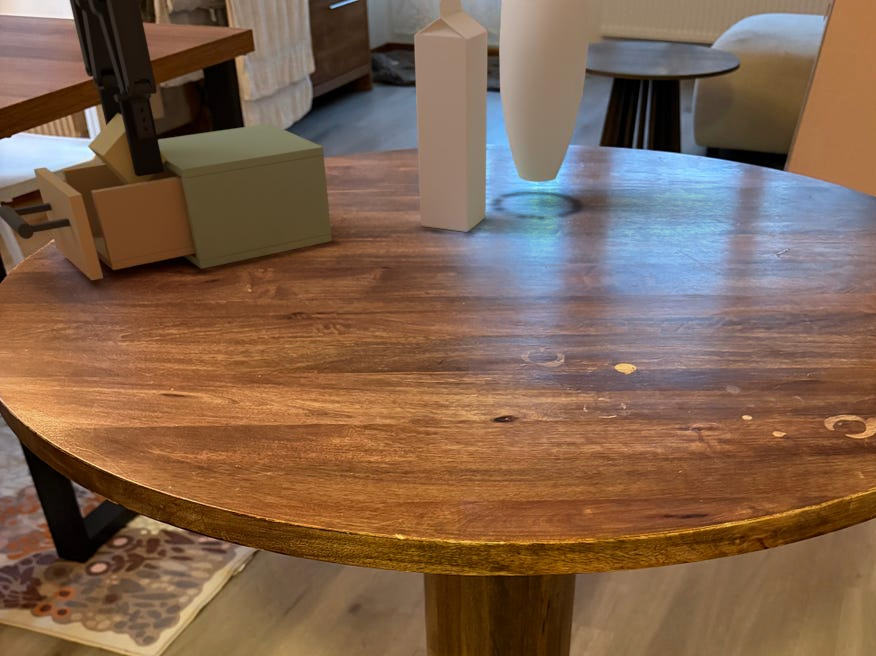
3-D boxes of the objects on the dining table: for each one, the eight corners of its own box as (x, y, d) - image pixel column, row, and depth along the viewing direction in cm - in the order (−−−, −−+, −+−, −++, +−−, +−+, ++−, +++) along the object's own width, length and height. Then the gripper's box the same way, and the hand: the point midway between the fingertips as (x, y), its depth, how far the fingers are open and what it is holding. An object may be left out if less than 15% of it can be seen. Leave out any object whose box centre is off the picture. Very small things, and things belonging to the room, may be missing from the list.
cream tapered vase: (533, 185, 120) (542, -16, 106) (595, 202, 114) (613, -8, 100) (477, 201, 114) (479, -9, 100) (539, 220, 109) (550, 1, 94)
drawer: (41, 291, 88) (14, 205, 83) (8, 257, 95) (-18, 176, 90) (227, 252, 97) (214, 172, 92) (185, 224, 104) (171, 148, 99)
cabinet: (201, 269, 96) (182, 169, 89) (156, 236, 103) (135, 142, 97) (332, 241, 103) (323, 146, 96) (281, 212, 110) (269, 123, 104)
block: (138, 192, 92) (102, 155, 88) (122, 182, 94) (87, 146, 91) (167, 159, 92) (133, 120, 88) (151, 149, 94) (117, 112, 91)
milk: (485, 218, 109) (490, -6, 95) (467, 233, 105) (468, 1, 91) (439, 211, 111) (436, -10, 96) (418, 226, 107) (412, -3, 92)
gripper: (155, -131, 73) (210, 181, 89) (82, -136, 85) (142, 143, 100) (61, -130, 70) (135, 194, 85) (-2, -136, 81) (73, 153, 97)
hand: (139, 166), depth 93 cm, fingers open, 5 cm apart
